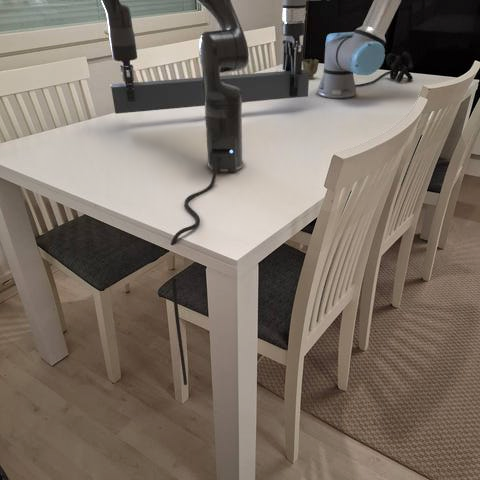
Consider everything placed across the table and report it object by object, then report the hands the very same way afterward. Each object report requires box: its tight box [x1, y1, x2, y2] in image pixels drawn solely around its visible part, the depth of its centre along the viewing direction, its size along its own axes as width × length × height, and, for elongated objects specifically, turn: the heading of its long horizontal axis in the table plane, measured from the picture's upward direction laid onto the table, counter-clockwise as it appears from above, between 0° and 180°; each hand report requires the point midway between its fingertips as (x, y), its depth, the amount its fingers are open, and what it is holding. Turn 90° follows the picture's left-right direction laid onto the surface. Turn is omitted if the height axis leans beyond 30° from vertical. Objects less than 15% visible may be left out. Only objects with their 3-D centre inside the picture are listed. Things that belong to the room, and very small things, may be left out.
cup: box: [302, 58, 320, 80], centre depth 204 cm, size 8×7×8 cm
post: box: [110, 69, 310, 115], centre depth 152 cm, size 67×5×8 cm, turn 105°
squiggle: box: [385, 51, 414, 83], centre depth 198 cm, size 11×10×15 cm
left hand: (131, 98), depth 146 cm, fingers closed on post, 4 cm apart
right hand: (290, 93), depth 160 cm, fingers closed on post, 5 cm apart
